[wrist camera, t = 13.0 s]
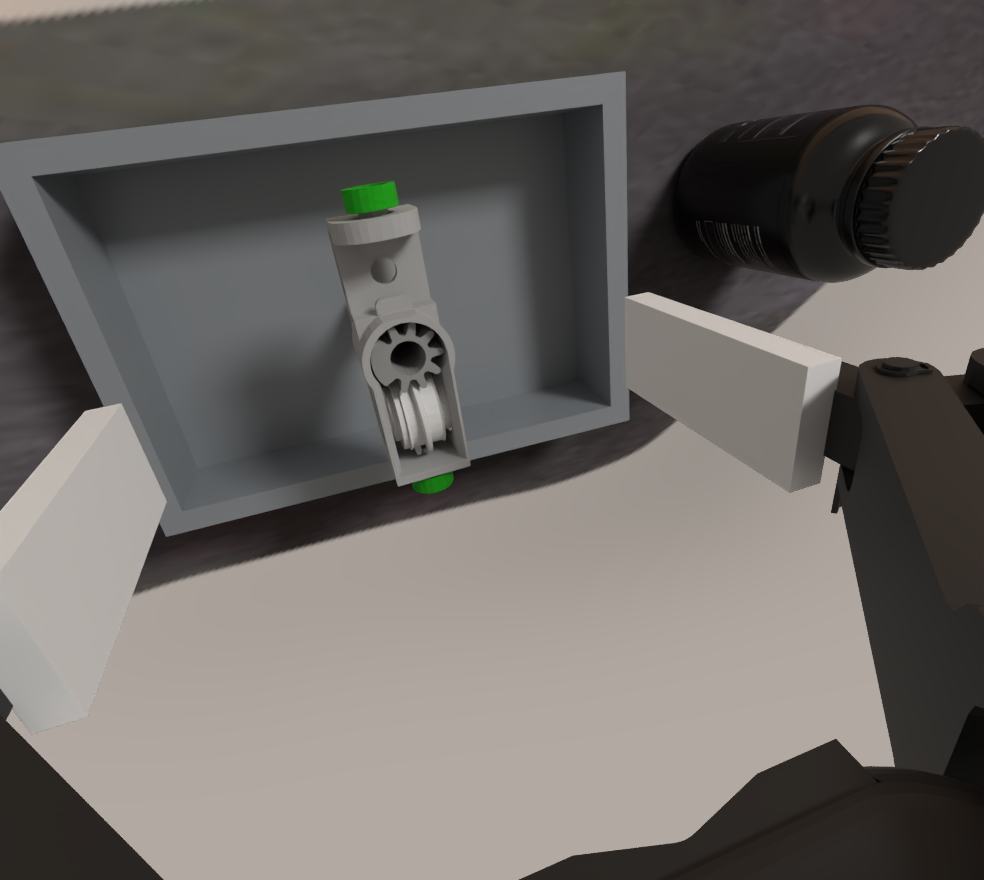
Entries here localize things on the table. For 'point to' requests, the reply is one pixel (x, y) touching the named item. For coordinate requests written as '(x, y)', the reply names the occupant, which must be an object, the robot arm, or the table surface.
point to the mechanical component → (399, 336)
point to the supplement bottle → (831, 193)
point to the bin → (333, 278)
